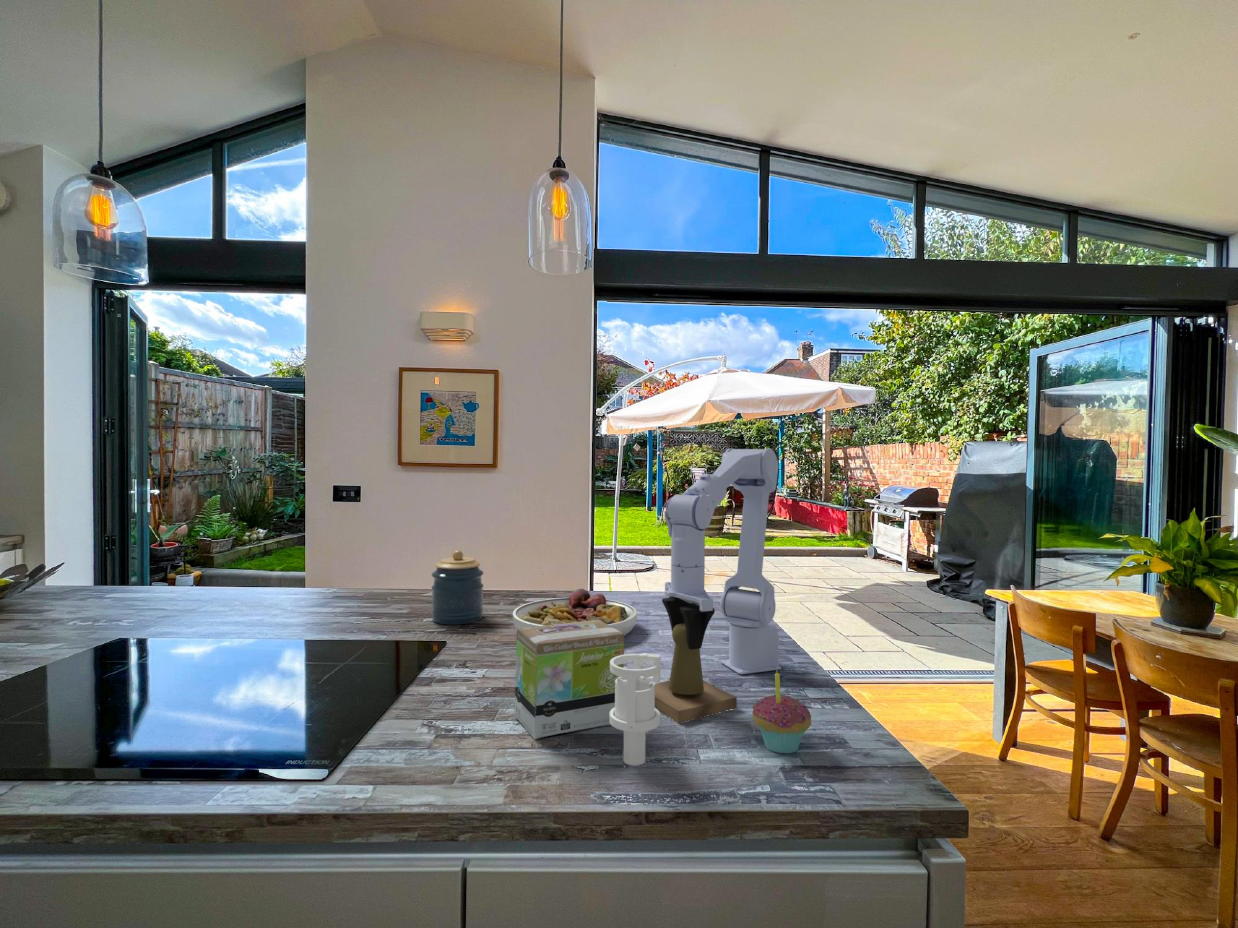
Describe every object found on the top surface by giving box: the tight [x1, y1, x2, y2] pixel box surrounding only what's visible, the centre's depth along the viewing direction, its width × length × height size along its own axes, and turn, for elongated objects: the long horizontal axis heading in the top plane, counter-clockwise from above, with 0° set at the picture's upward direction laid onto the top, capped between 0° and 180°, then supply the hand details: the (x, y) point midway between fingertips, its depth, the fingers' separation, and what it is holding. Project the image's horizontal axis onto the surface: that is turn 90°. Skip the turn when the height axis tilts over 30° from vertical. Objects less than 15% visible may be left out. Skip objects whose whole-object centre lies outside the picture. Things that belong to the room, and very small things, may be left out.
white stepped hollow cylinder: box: [609, 652, 661, 767], centre depth 89 cm, size 7×7×15 cm
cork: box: [668, 623, 704, 695], centre depth 110 cm, size 6×6×11 cm
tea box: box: [514, 620, 625, 740], centre depth 102 cm, size 15×10×15 cm, turn 117°
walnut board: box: [649, 680, 738, 724], centre depth 110 cm, size 12×12×2 cm
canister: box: [431, 550, 484, 625], centre depth 165 cm, size 13×13×18 cm
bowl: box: [512, 588, 638, 637], centre depth 155 cm, size 30×30×8 cm
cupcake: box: [751, 669, 812, 754], centre depth 94 cm, size 9×8×12 cm
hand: (687, 643), depth 110 cm, fingers closed on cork, 5 cm apart
